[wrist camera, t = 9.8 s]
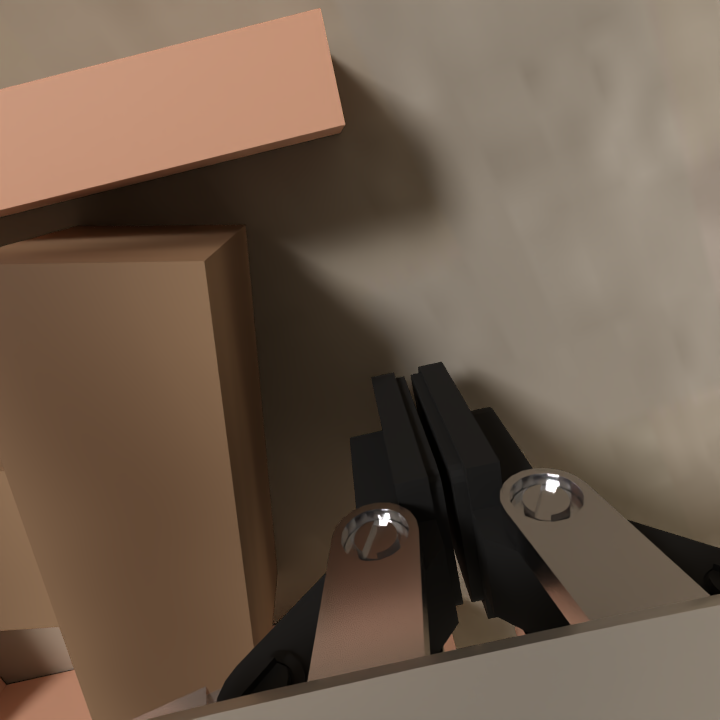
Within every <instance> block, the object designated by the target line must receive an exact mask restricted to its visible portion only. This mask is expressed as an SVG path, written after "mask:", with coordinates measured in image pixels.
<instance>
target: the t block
mask: <svg viewBox="0 0 720 720" xmlns="http://www.w3.org/2000/svg"><path fill="white" fill-rule="evenodd" d="M276 584H277V563H276V552H275V541H274V530H273V519H272V508H271V497H270V486H269V475H268V465H267V454H266V443H265V432H264V421H263V410H262V399H261V388H260V377H259V366H258V355H257V344H256V333H255V322H254V312H253V301H252V290H251V279H250V268H249V257H248V246H247V235H246V225H155V226H75V227H71V228H68V229H64V230H60V231H57V232H53V233H49V234H46V235H42V236H38V237H35V238H31V239H27V240H24V241H20V242H16V243H13V244H9V245H5V246H2V247H0V631H6V630H20V629H34V628H49V627H60V630H61V633H62V636H63V639H64V642H65V644H66V647H67V650H68V653H69V656H70V659H71V662H72V664H73V667H74V670H75V673H76V676H77V679H78V681H79V684H80V687H81V690H82V693H83V696H84V698H85V701H86V704H87V707H88V710H89V713H90V715H91V718H92V720H132V719H134V718H137V717H139V716H141V715H143V714H145V713H148V712H150V711H152V710H154V709H157V708H159V707H161V706H163V705H166V704H168V703H170V702H172V701H174V700H177V699H179V698H181V697H183V696H186V695H188V694H190V693H192V692H195V691H197V690H199V689H201V688H204V687H207V689H208V691H209V693H212V692H214V691H216V690H219V689H221V688H222V686H223V684H224V682H225V680H226V679H227V678H228V676H229V675H230V674H231V673H232V671H233V670H234V669H235V667H236V666H237V665H238V664H239V663H240V662H241V661H242V660H243V659H244V658H245V657H246V656H247V655H248V654H249V652H250V651H251V650H252V649H253V648H254V647H255V646H256V645H257V644H258V643H259V642H260V641H261V640H262V639H263V638H264V637H265V636H266V635H267V634H268V633H269V632H270V631H271V630H272V624H273V614H274V604H275V594H276Z"/></svg>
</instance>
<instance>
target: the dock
mask: <svg viewBox="0 0 720 720" xmlns="http://www.w3.org/2000/svg"><path fill="white" fill-rule="evenodd" d="M344 126H345V121H344V116H343V111H342V107H341V102H340V97H339V93H338V88H337V83H336V79H335V74H334V69H333V65H332V60H331V55H330V50H329V46H328V41H327V36H326V32H325V27H324V22H323V18H322V13H321V8H318V9H314V10H310V11H306V12H303V13H299V14H295V15H291V16H287V17H283V18H279V19H275V20H271V21H267V22H263V23H259V24H255V25H251V26H247V27H243V28H240V29H236V30H232V31H228V32H224V33H220V34H216V35H212V36H208V37H204V38H200V39H196V40H192V41H188V42H184V43H181V44H177V45H173V46H169V47H165V48H161V49H157V50H153V51H149V52H145V53H141V54H137V55H133V56H129V57H125V58H122V59H118V60H114V61H110V62H106V63H102V64H98V65H94V66H90V67H86V68H82V69H78V70H74V71H70V72H66V73H63V74H59V75H55V76H51V77H47V78H43V79H39V80H35V81H31V82H27V83H23V84H19V85H15V86H11V87H7V88H4V89H0V217H3V216H7V215H11V214H15V213H19V212H23V211H27V210H31V209H35V208H39V207H43V206H48V205H52V204H56V203H60V202H64V201H68V200H72V199H76V198H80V197H84V196H88V195H92V194H96V193H100V192H104V191H108V190H112V189H116V188H120V187H124V186H128V185H132V184H136V183H140V182H144V181H148V180H152V179H157V178H161V177H165V176H169V175H173V174H177V173H181V172H185V171H189V170H193V169H197V168H201V167H205V166H209V165H213V164H217V163H221V162H225V161H229V160H233V159H237V158H241V157H245V156H249V155H253V154H257V153H261V152H266V151H270V150H274V149H278V148H282V147H286V146H290V145H294V144H298V143H302V142H306V141H310V140H314V139H318V138H322V137H326V136H330V135H334V134H338V133H340V132H341V131H342V129H343V127H344ZM274 626H275V625H273V626H272V629H273V627H274ZM455 649H456V646H455V643H454V639H453V635H452V634H451V635H450V637H449V638H448V640H447V642H446V643H445V645H444V651H445V652H446V651H451V650H455ZM0 720H92V718H91V715H90V713H89V710H88V707H87V704H86V701H85V698H84V696H83V693H82V690H81V687H80V684H79V681H78V679H77V676H76V673H75V670H71V671H67V672H62V673H58V674H54V675H49V676H45V677H40V678H36V679H31V680H27V681H22V682H18V683H13V684H9V685H6V684H5V683H4V682H3V680H2V679H1V678H0Z"/></svg>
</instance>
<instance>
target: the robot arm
mask: <svg viewBox="0 0 720 720" xmlns="http://www.w3.org/2000/svg"><path fill="white" fill-rule="evenodd" d="M418 371H419V373H417V374H413V375H411V380H412V386H413V391H414V396H415V401H416V407H417V410H416V408H415V405H414V402H413V399H412V397H411V394H410V391H409V389H408V386H407V383H406V380H405V378H404V377H399V378H395V375H394V373H389V374H385V375H380V376H376V377H371V379H372V384H373V388H374V393H375V398H376V402H377V407H378V412H379V416H380V421H381V426H382V430H383V431H379V432H374V433H369V434H365V435H360V436H356V437H351V438H350V446H351V457H352V468H353V478H354V489H355V500H356V510H353V511H352V512H351V513H349V514H348V515H347V516H345V517H344V518H343V519H342V520H341V521H340V523H339V524H338V525H337V527H336V528H335V531H334V534H333V537H332V541H331V547H330V553H329V559H328V565H327V571H326V573H325V574H324V575H323V576H322V577H321V579H320V580H319V581H318V582H317V583H316V584H315V585H314V586H313V587H312V588H311V589H310V590H309V591H308V592H307V593H306V594H305V595H304V596H303V597H302V598H301V599H300V600H299V601H298V602H297V604H296V605H295V606H294V607H293V608H292V609H291V610H290V611H289V612H288V613H287V614H286V615H285V616H284V617H283V618H282V619H281V620H280V621H279V622H278V623H277V624H276V625H275V626H274V627H273V629H272V630H271V631H270V632H269V633H268V634H267V635H266V636H265V637H264V638H263V639H262V640H261V641H260V642H259V643H258V644H257V645H256V646H255V647H254V648H253V649H252V650H251V651H250V652H249V654H248V655H247V656H246V657H245V658H244V659H243V660H242V661H241V662H240V663H239V664H238V665H237V666H236V667H235V669H234V670H233V671H232V673H231V674H230V675H229V676H228V678H227V679H226V680H225V682H224V684H223V686H222V688H221V689H219V690H216V691H214V692H212V693H209V691H208V689H207V687H204V688H201V689H199V690H197V691H195V692H192V693H190V694H188V695H186V696H183V697H181V698H179V699H177V700H174V701H172V702H170V703H168V704H166V705H163V706H161V707H159V708H157V709H154V710H152V711H150V712H148V713H145V714H143V715H141V716H139V717H137V718H134V719H132V720H720V548H717V547H714V546H710V545H707V544H704V543H701V542H698V541H694V540H691V539H688V538H685V537H681V536H678V535H675V534H672V533H668V532H665V531H662V530H659V529H655V528H652V527H649V526H646V525H642V524H639V523H636V522H633V521H629V520H626V519H625V518H624V517H623V516H622V515H621V514H620V513H619V512H618V511H617V510H615V509H614V508H613V507H612V506H611V505H610V504H609V503H608V502H607V501H606V500H604V499H603V498H602V497H601V496H600V495H599V494H598V493H597V492H596V491H594V490H593V489H592V488H591V487H590V486H589V485H588V484H587V483H586V482H584V481H583V480H581V479H580V478H578V477H577V476H575V475H573V474H571V473H568V472H565V471H563V470H557V469H552V468H532V467H531V465H530V464H529V462H528V461H527V459H526V458H525V456H524V455H523V453H522V452H521V450H520V449H519V448H518V446H517V445H516V443H515V442H514V440H513V439H512V437H511V436H510V434H509V433H508V431H507V430H506V428H505V427H504V425H503V424H502V422H501V421H500V419H499V418H498V416H497V415H496V413H495V412H494V411H493V409H492V408H491V407H487V408H482V409H478V410H473V411H470V409H469V408H468V406H467V404H466V403H465V401H464V399H463V397H462V396H461V394H460V392H459V390H458V389H457V387H456V385H455V384H454V382H453V380H452V378H451V377H450V375H449V373H448V372H447V370H446V368H445V366H444V365H443V363H442V362H438V363H434V364H429V365H425V366H420V367H418ZM417 412H418V413H417ZM454 551H455V554H456V557H457V560H458V563H459V566H460V569H461V572H462V575H463V578H464V581H465V584H466V587H467V590H468V593H469V596H470V599H471V601H472V602H475V601H480V600H482V602H483V605H484V608H485V611H486V613H487V616H488V619H490V618H495V617H499V618H501V619H503V620H505V621H507V622H509V623H511V624H512V625H514V626H515V630H516V634H517V636H516V637H512V638H507V639H502V640H498V641H493V642H488V643H483V644H479V645H474V646H469V647H465V648H460V649H455V650H451V651H446V652H445V651H444V645H445V643H446V642H447V640H448V638H449V637H450V635H451V634H452V632H453V631H454V629H455V628H456V626H457V625H458V623H459V622H458V617H457V611H456V606H457V605H461V604H463V599H462V593H461V588H460V582H459V577H458V571H457V565H456V560H455V554H454Z"/></svg>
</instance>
